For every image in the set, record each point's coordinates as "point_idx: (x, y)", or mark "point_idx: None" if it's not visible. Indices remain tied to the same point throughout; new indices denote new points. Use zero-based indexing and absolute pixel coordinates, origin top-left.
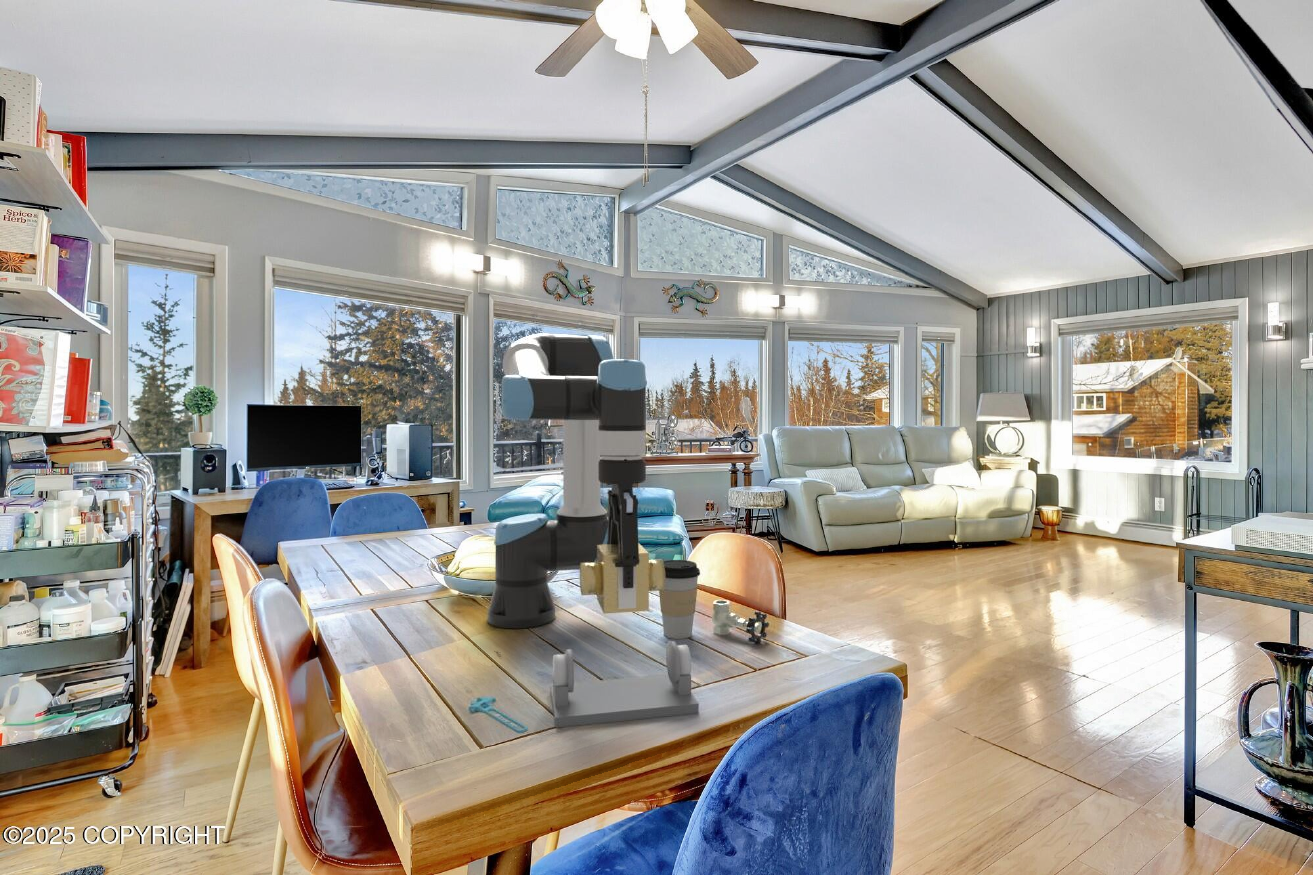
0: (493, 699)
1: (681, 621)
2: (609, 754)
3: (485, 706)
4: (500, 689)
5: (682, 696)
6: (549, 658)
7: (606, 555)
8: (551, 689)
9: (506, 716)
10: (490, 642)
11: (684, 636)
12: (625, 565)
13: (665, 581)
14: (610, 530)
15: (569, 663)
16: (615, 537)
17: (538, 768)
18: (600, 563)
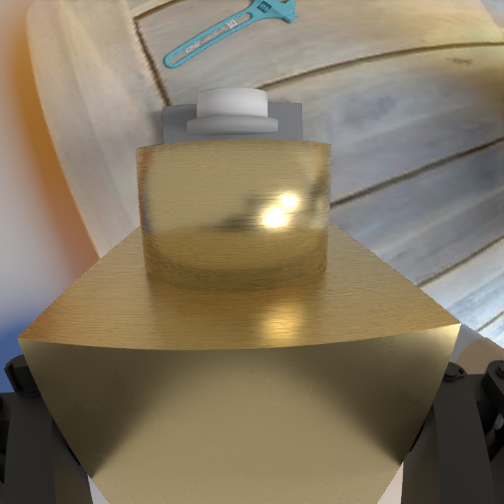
0: (286, 18)
1: (451, 360)
2: (81, 187)
3: (263, 8)
4: (331, 33)
5: None
6: (439, 130)
7: (28, 354)
8: (280, 103)
9: (219, 36)
10: (496, 64)
11: None
12: (1, 393)
13: None
14: (487, 475)
15: (194, 122)
16: (426, 471)
17: (67, 97)
18: (210, 290)
